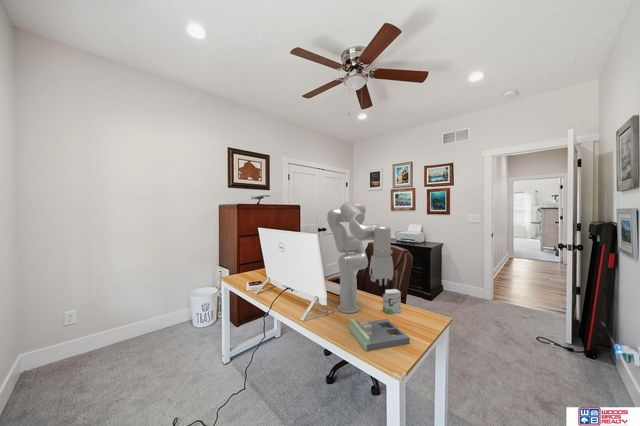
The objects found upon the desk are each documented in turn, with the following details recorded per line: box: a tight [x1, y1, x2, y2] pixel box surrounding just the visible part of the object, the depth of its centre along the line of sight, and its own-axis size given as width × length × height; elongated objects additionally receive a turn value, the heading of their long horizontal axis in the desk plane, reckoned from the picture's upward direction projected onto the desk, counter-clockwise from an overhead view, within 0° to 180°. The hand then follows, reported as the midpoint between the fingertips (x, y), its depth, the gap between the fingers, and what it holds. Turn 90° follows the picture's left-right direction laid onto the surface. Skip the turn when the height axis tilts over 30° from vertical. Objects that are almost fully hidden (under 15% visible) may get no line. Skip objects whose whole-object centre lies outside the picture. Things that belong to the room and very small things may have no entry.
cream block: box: [359, 321, 372, 336], centre depth 104 cm, size 4×4×4 cm
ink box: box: [382, 288, 402, 315], centre depth 132 cm, size 9×5×12 cm, turn 101°
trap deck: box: [348, 318, 411, 352], centre depth 107 cm, size 18×21×5 cm
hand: (381, 293), depth 107 cm, fingers closed
